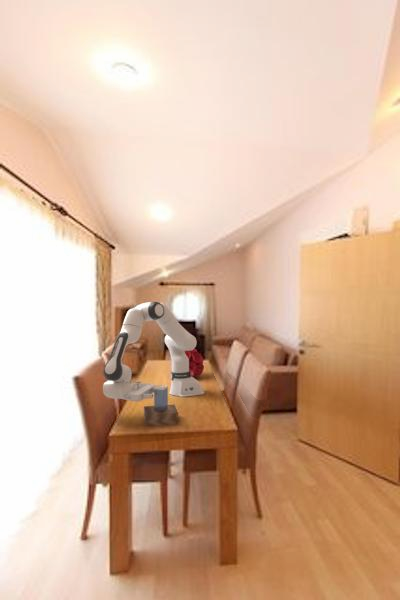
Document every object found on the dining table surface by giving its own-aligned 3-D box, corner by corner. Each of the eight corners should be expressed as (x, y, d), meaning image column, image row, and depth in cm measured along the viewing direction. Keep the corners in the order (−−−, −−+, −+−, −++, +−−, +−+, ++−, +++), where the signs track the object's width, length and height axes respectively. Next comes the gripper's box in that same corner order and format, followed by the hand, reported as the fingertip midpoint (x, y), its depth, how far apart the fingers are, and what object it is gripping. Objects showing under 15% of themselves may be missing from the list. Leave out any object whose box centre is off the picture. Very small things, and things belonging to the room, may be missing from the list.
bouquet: (171, 383, 281) (176, 371, 255) (171, 354, 292) (176, 340, 266) (198, 384, 285) (206, 372, 259) (197, 355, 296) (205, 342, 270)
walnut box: (174, 415, 191) (174, 404, 191) (178, 425, 177) (178, 413, 177) (144, 417, 188) (144, 406, 188) (145, 427, 174) (145, 415, 174)
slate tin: (159, 407, 186) (159, 384, 185) (168, 408, 184) (167, 385, 183) (154, 410, 181) (153, 387, 180) (163, 412, 179) (163, 388, 178)
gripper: (121, 390, 177) (147, 393, 173) (140, 380, 196) (164, 382, 192) (122, 403, 177) (147, 406, 173) (140, 392, 197) (164, 394, 192)
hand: (156, 393), depth 183 cm, fingers open, 8 cm apart
